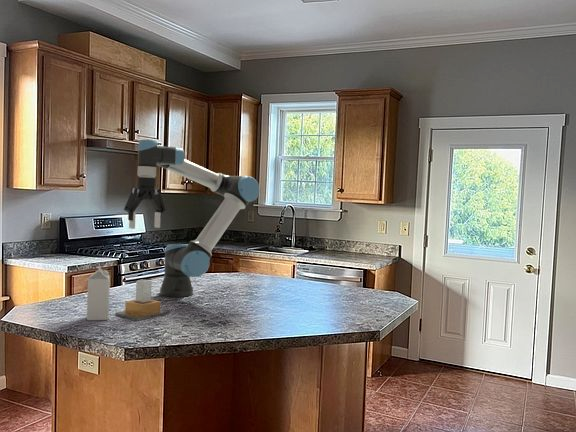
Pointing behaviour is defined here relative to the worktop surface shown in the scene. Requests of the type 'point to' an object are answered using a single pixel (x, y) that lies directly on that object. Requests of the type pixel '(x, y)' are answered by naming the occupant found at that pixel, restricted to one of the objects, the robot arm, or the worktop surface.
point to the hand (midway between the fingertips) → (144, 228)
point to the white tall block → (143, 291)
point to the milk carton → (98, 295)
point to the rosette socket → (142, 310)
